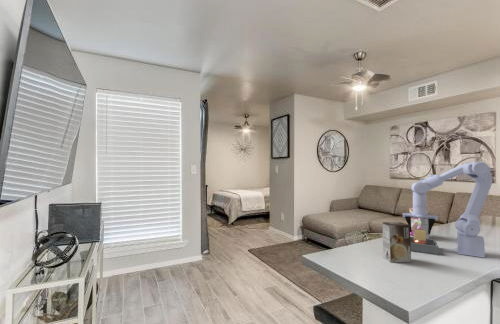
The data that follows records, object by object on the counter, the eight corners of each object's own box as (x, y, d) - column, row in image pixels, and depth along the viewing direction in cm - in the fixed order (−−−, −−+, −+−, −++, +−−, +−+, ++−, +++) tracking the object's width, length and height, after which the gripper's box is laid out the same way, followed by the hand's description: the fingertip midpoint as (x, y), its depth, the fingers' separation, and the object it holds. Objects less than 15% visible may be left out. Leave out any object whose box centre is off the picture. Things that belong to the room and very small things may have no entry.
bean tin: (426, 247, 126) (426, 238, 126) (426, 250, 121) (426, 240, 121) (413, 245, 129) (413, 236, 129) (413, 248, 124) (413, 239, 124)
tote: (435, 247, 127) (435, 239, 127) (438, 255, 116) (438, 246, 116) (404, 243, 134) (403, 235, 134) (404, 250, 123) (404, 242, 123)
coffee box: (402, 257, 113) (402, 221, 113) (411, 262, 106) (411, 225, 107) (382, 257, 113) (381, 221, 113) (390, 262, 107) (389, 225, 107)
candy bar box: (408, 234, 152) (408, 207, 153) (417, 234, 152) (416, 207, 153) (421, 239, 141) (420, 210, 142) (430, 239, 141) (429, 211, 142)
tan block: (425, 238, 126) (424, 229, 126) (425, 240, 122) (425, 231, 122) (414, 237, 128) (414, 228, 128) (414, 239, 124) (414, 230, 124)
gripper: (402, 205, 126) (403, 232, 126) (438, 208, 118) (438, 236, 118) (402, 204, 132) (402, 229, 132) (436, 206, 124) (436, 233, 124)
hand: (419, 232), depth 125 cm, fingers open, 7 cm apart
